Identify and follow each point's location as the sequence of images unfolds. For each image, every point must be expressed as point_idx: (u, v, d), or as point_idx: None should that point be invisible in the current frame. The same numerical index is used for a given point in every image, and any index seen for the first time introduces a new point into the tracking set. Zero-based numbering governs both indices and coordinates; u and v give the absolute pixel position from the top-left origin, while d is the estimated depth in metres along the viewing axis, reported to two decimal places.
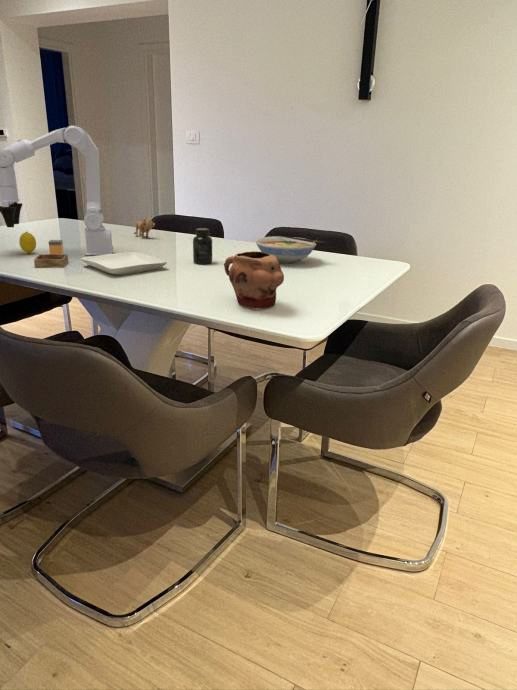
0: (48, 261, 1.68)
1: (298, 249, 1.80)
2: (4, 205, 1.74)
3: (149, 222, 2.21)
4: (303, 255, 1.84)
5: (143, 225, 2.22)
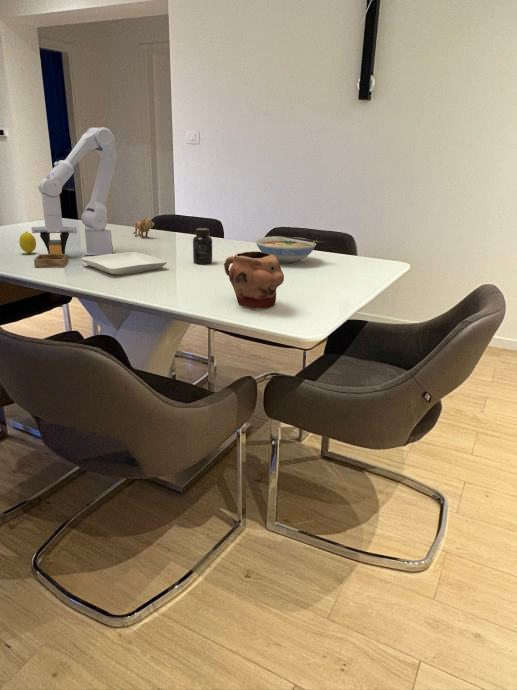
0: (48, 261, 1.68)
1: (298, 249, 1.80)
2: None
3: (148, 222, 2.22)
4: (303, 255, 1.84)
5: (142, 225, 2.22)
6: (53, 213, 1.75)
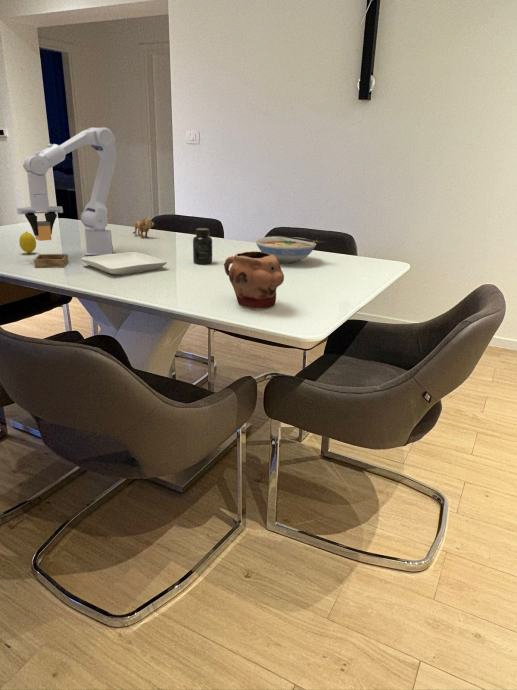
0: (48, 261, 1.68)
1: (298, 249, 1.80)
2: (18, 212, 1.69)
3: (148, 222, 2.22)
4: (303, 255, 1.84)
5: (142, 225, 2.23)
6: (39, 192, 1.69)
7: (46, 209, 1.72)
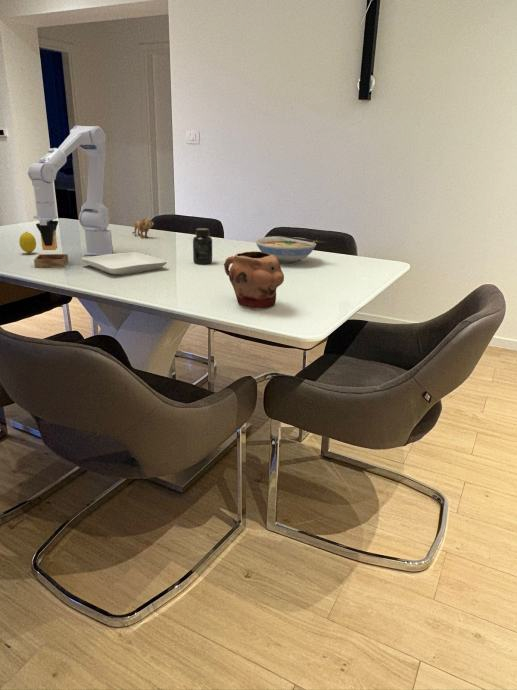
0: (48, 261, 1.68)
1: (298, 249, 1.80)
2: (42, 223, 1.61)
3: (148, 221, 2.22)
4: (303, 255, 1.84)
5: (142, 225, 2.23)
6: (49, 200, 1.64)
7: (56, 217, 1.69)
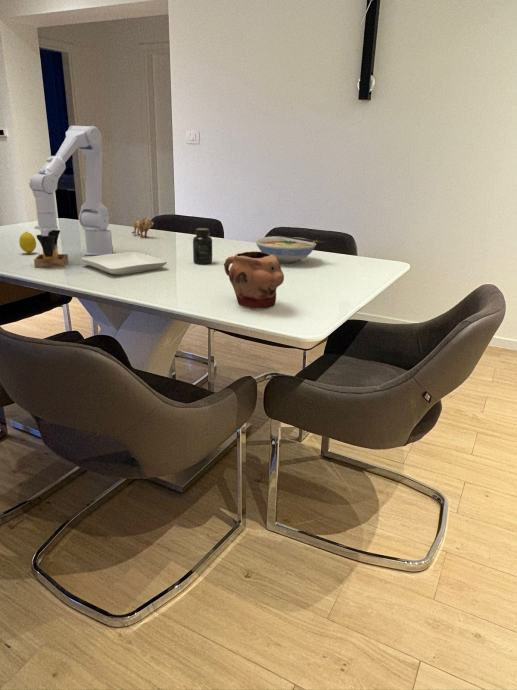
0: (48, 261, 1.68)
1: (298, 249, 1.80)
2: (43, 234, 1.63)
3: (148, 221, 2.23)
4: (303, 255, 1.84)
5: (142, 224, 2.23)
6: (51, 211, 1.65)
7: (57, 227, 1.70)
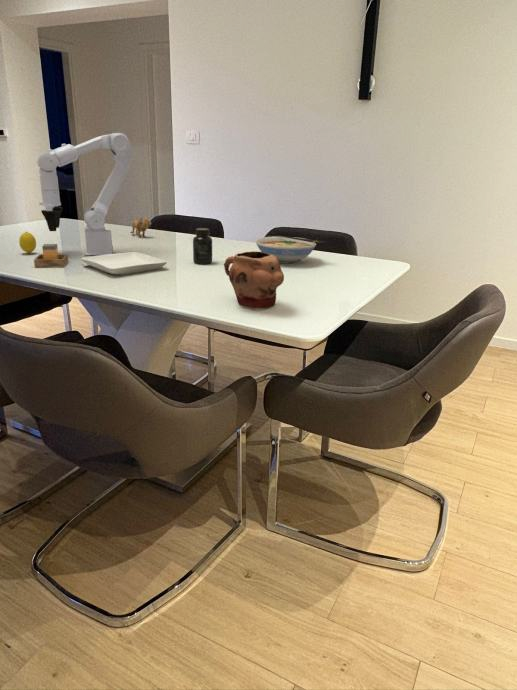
0: (48, 261, 1.68)
1: (298, 249, 1.80)
2: (48, 209, 1.74)
3: (145, 221, 2.23)
4: (303, 255, 1.84)
5: (139, 224, 2.24)
6: (48, 188, 1.76)
7: None
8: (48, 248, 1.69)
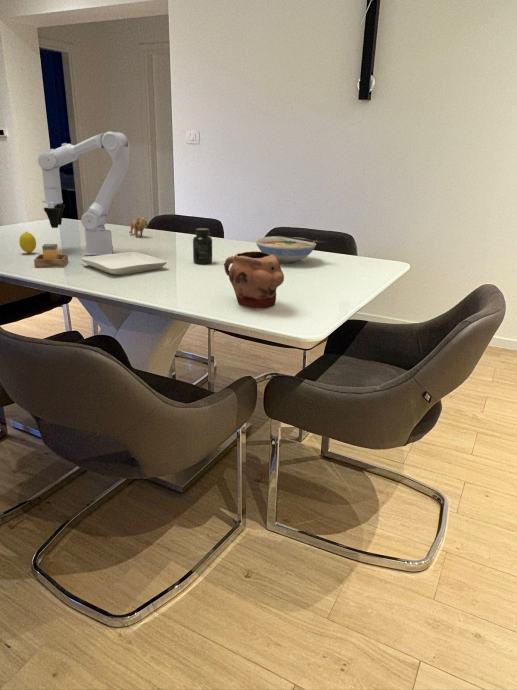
0: (48, 261, 1.68)
1: (298, 249, 1.80)
2: (50, 206, 1.80)
3: (143, 221, 2.23)
4: (303, 255, 1.84)
5: (137, 224, 2.24)
6: (47, 186, 1.82)
7: (62, 201, 1.88)
8: (48, 248, 1.69)
